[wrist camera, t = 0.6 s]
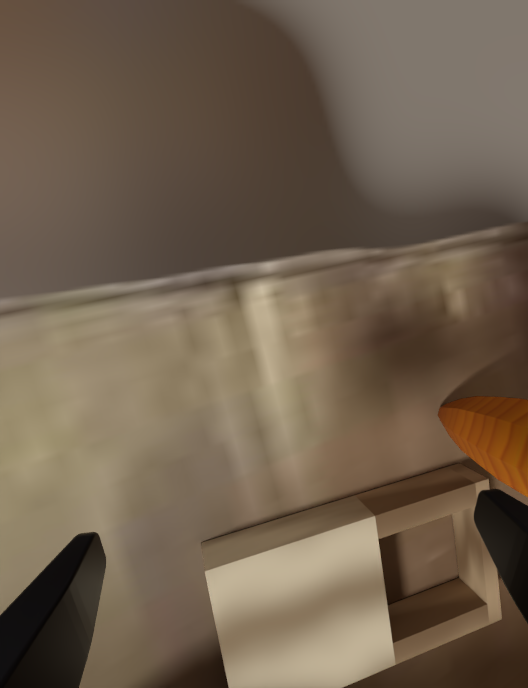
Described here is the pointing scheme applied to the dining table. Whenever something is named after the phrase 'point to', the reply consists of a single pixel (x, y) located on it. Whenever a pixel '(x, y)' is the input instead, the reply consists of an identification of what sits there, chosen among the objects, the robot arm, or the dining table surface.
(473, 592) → the open matchbox
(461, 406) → the carrot
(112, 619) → the dining table surface
